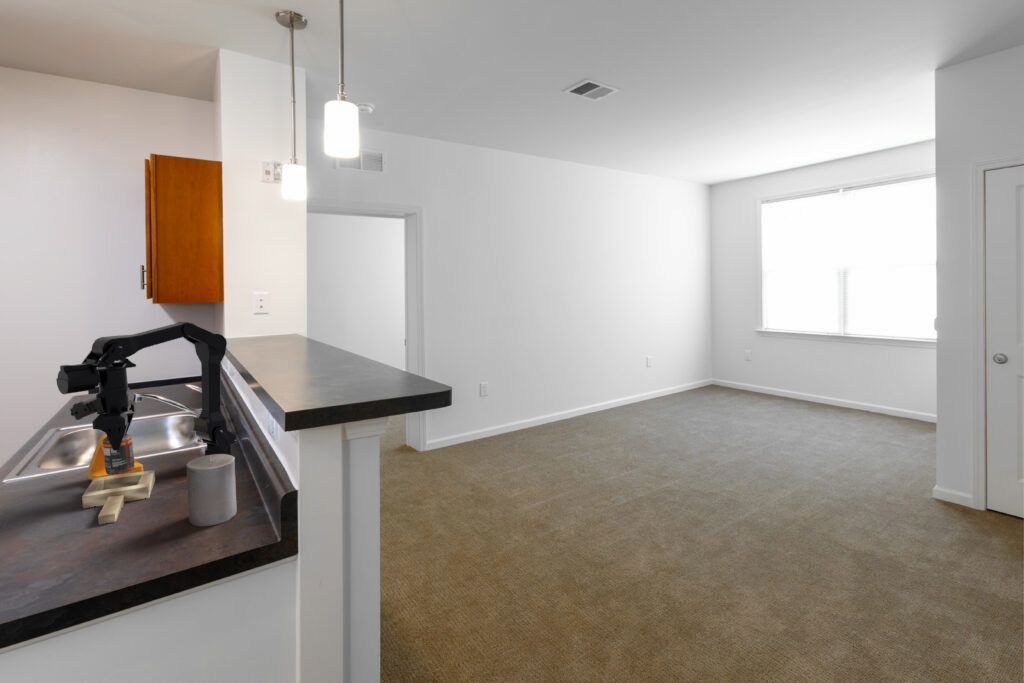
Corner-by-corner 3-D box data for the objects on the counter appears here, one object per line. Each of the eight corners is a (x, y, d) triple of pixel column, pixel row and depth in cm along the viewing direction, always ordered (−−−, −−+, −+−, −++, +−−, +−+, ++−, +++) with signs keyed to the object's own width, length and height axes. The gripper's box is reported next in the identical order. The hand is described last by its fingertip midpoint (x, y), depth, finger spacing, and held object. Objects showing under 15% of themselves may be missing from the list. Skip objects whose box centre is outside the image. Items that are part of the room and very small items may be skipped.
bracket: (98, 486, 134) (94, 443, 133) (88, 480, 138) (84, 438, 137) (144, 474, 143) (141, 433, 142) (134, 469, 147) (131, 429, 146)
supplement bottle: (131, 465, 134) (127, 423, 132) (137, 470, 130) (134, 428, 128) (102, 471, 129) (99, 428, 128) (108, 477, 125) (105, 433, 124)
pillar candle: (184, 516, 118) (180, 454, 116) (230, 503, 125) (227, 445, 123) (195, 531, 111) (191, 466, 109) (243, 517, 118) (240, 456, 116)
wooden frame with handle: (155, 480, 139) (154, 469, 138) (142, 517, 117) (141, 504, 117) (95, 489, 132) (94, 478, 132) (70, 529, 111) (68, 516, 110)
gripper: (81, 382, 131) (86, 440, 133) (61, 397, 115) (67, 463, 117) (134, 379, 136) (138, 435, 138) (122, 392, 120) (127, 455, 122)
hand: (118, 446), depth 129 cm, fingers closed on supplement bottle, 6 cm apart
